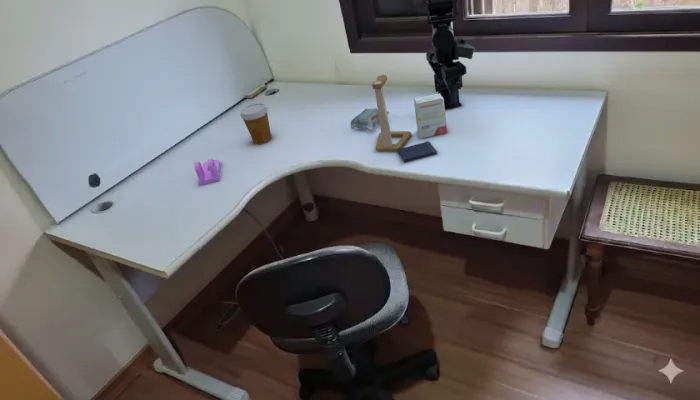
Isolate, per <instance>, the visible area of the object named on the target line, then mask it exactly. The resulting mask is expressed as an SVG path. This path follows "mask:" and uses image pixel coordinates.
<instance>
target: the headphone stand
mask: <svg viewBox="0 0 700 400" xmlns="http://www.w3.org/2000/svg"><path fill="white" fill-rule="evenodd" d="M387 81H388V76H387V75H386V74H381V75H378V76H377V78H376V80H374V81H373V82H372V84H371V87H372V89H373V90H374V94H375V101H376V108H377V110H378V115H379V129H380V132H379V133H378V137H377V140H376V145H375V151H376V152H378V153H398V149H401V148H404V147H405V145H406V143H407V142H409V140H410V139H411V137H412V132H411V131H410V130H400V131H399V130H397V131H394V130H392V131H391V126H390V122H389V117H388V116H389V115H387V111H388V110H387V105H386V100H385V95H384V89H383V88H384V85H385V84H386V82H387ZM393 138H400V139H399V141H398V142H397V143H393Z"/></svg>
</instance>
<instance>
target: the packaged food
mask: <svg viewBox="0 0 700 400" xmlns="http://www.w3.org/2000/svg"><path fill="white" fill-rule="evenodd" d="M389 114H390V112H389V110H387V116H389ZM378 124H380V122H379V115H378V108H377V107H375V108H365V109H364V110H362V112H360V113H359V114H357V115H356V116H354V117H353V118H352V119H351V121H350V130H351V129H352V130H353V129H354V128H355V129H360V130H368V131H372V130H373V129H374V128H375V127H376V126H377V125H378Z"/></svg>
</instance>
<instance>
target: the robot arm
mask: <svg viewBox="0 0 700 400" xmlns="http://www.w3.org/2000/svg"><path fill="white" fill-rule="evenodd" d="M425 5H426V18H427V19H426V20H427V25H431V31H432V35H431V36H432V41H431V46H432V48H433V49H429V50H428V51H427V52H426V54H425V59H426V61H427V63H428V65H429V66H430V68H431V70H432V72H433V73H434V74H433V82H434V90H435V93H436V94H439V93H440V94H441V96H442V97H443V99H444V107H445V111H448V110H451V109H455V108H458V107H462V103H461V102H460V90H462V88H463V86H464V84H463V76H465V75H466V74H467V73H468V72H467V71H468V70H467V66H466V65H465V64H464V63H462V62H461V61H460V58H463V59H464V58H465V59H468V60H472V59H473V55H474V52H475V49H476V48H475V47H474V46H472V45H471V44H469V43H466V40H465V39H464V38H459V37H458V38H457V40H455V34H454V25H453V21H457V17H456V16H459V14H458V1H457V0H425Z"/></svg>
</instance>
